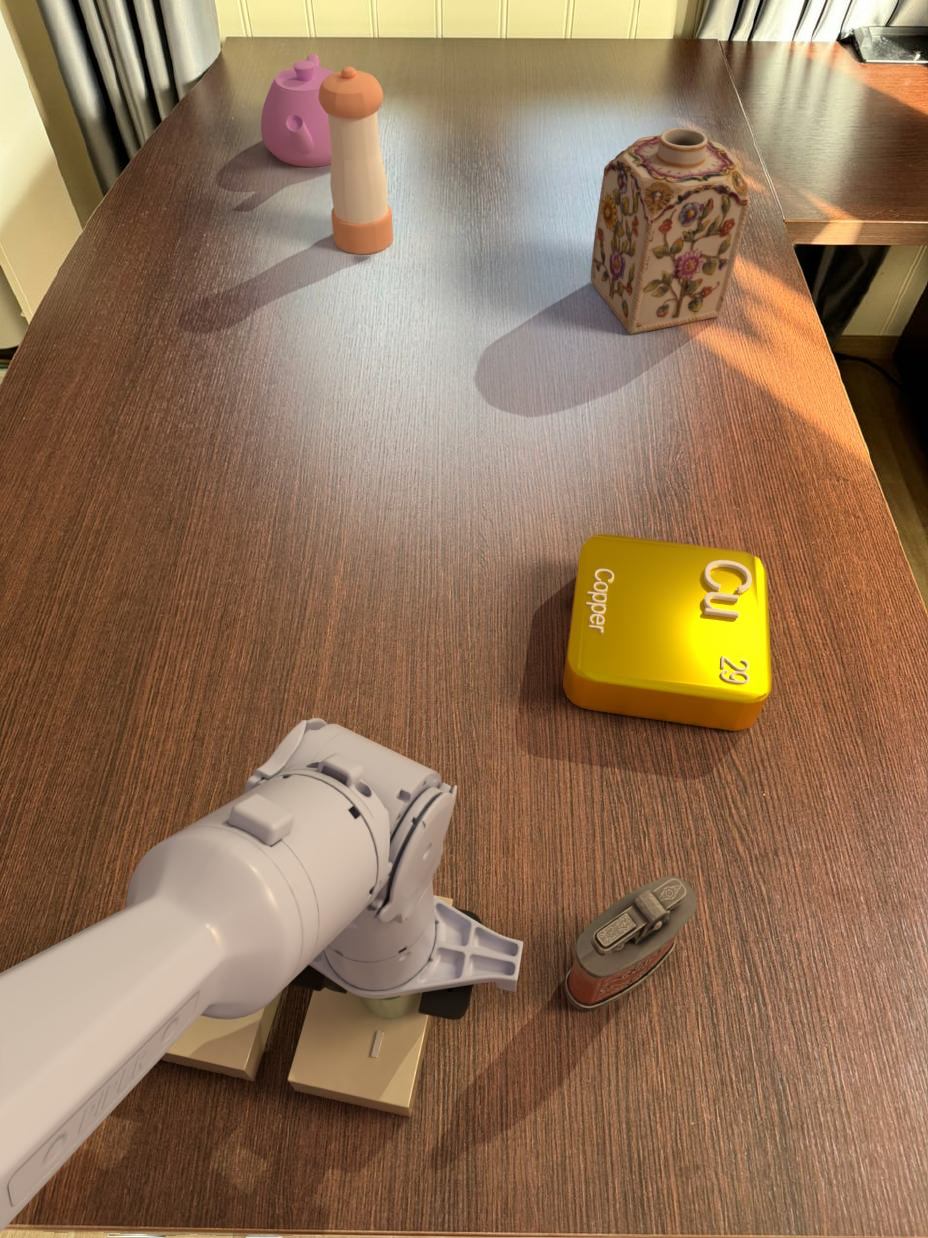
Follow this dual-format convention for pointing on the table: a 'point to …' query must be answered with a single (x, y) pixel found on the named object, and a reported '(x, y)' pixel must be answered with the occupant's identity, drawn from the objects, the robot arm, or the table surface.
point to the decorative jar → (668, 230)
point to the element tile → (669, 632)
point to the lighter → (628, 942)
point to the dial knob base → (360, 1052)
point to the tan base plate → (225, 1043)
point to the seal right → (391, 1005)
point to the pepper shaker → (356, 162)
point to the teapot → (297, 116)
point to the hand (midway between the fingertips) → (390, 984)
